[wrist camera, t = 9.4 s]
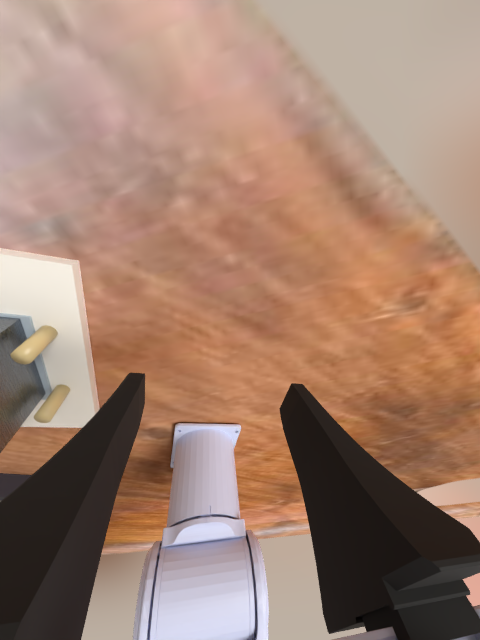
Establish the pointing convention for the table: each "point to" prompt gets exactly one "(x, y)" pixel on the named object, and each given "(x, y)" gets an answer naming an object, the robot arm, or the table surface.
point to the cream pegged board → (51, 334)
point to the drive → (15, 381)
